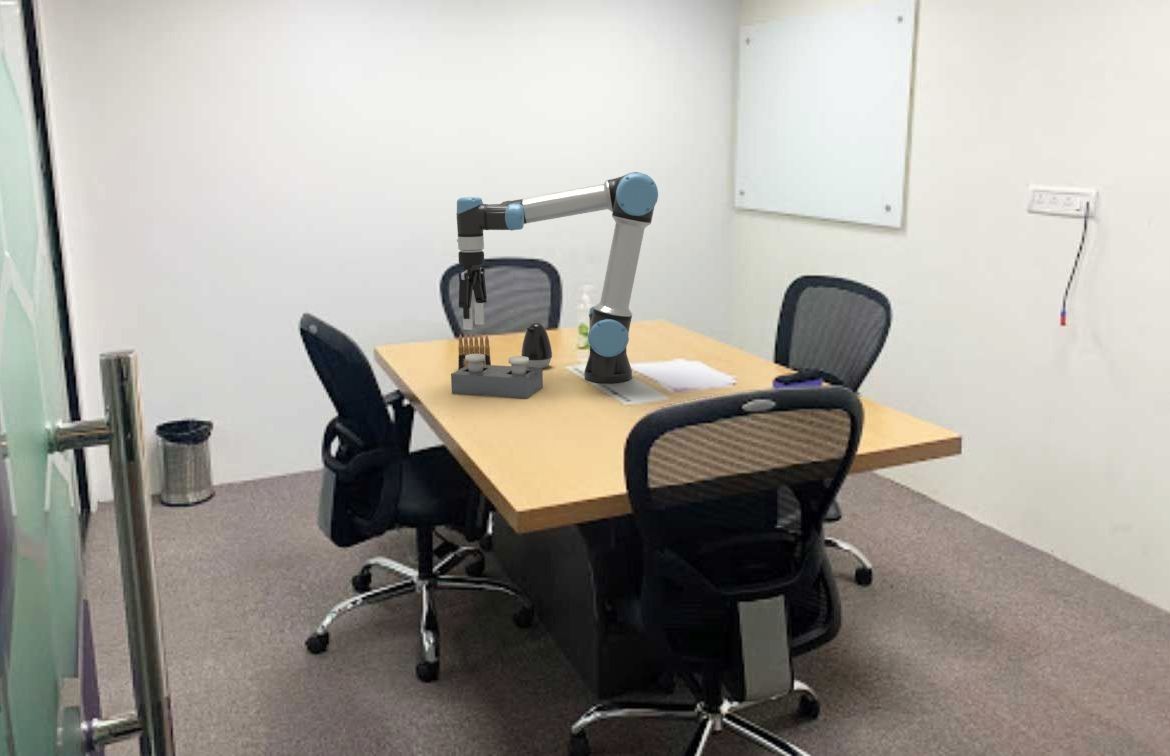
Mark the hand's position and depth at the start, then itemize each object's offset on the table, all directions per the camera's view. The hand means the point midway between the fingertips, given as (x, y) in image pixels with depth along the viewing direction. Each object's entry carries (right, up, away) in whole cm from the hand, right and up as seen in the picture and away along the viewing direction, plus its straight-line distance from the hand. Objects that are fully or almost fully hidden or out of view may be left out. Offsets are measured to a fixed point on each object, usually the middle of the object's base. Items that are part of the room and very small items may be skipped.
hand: (474, 326), depth 281 cm
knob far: (0, -15, +4) cm, 16 cm away
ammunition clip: (-3, -13, +30) cm, 33 cm away
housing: (+7, -19, +2) cm, 20 cm away
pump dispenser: (+17, -12, +32) cm, 38 cm away
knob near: (+14, -16, 0) cm, 21 cm away
